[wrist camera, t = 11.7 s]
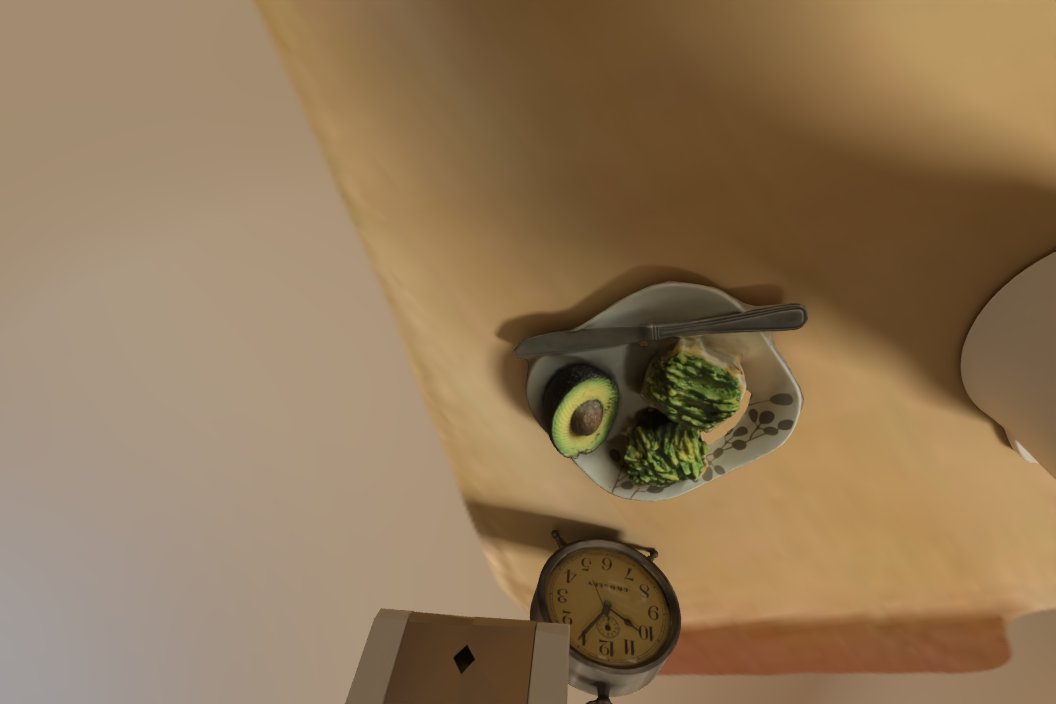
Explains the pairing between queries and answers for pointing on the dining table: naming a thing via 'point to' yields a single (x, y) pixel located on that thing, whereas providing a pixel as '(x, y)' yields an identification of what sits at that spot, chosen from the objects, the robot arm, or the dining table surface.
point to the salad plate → (665, 388)
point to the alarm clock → (608, 614)
